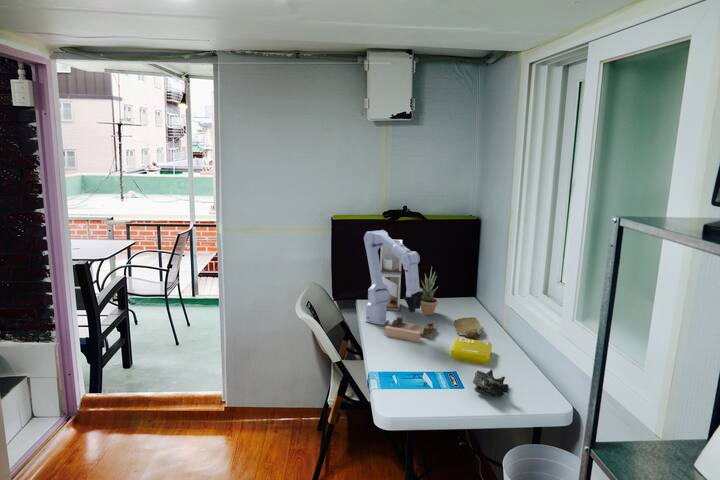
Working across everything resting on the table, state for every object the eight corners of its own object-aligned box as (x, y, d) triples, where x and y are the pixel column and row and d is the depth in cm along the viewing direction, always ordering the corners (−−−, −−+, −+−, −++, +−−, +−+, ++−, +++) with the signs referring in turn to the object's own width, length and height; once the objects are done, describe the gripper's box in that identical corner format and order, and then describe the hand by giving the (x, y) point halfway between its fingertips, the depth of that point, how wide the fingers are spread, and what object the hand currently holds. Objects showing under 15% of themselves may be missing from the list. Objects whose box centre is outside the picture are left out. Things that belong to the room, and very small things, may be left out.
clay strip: (384, 336, 223) (384, 327, 222) (386, 334, 225) (386, 325, 224) (418, 342, 216) (419, 333, 216) (420, 340, 219) (421, 332, 218)
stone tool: (486, 341, 218) (476, 321, 242) (485, 332, 217) (475, 313, 242) (459, 343, 219) (452, 323, 243) (459, 334, 218) (452, 315, 243)
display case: (379, 302, 268) (382, 238, 261) (399, 303, 267) (402, 239, 260) (378, 309, 257) (380, 243, 250) (399, 310, 256) (402, 244, 249)
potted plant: (438, 316, 249) (441, 268, 244) (419, 316, 249) (422, 268, 244) (435, 309, 258) (438, 263, 254) (417, 309, 258) (419, 263, 254)
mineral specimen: (520, 388, 167) (504, 362, 168) (488, 408, 165) (472, 381, 167) (506, 382, 181) (492, 358, 183) (477, 400, 180) (462, 376, 181)
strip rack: (388, 330, 228) (388, 321, 228) (395, 323, 237) (396, 315, 237) (430, 338, 221) (431, 329, 220) (436, 330, 230) (437, 322, 229)
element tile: (450, 360, 200) (451, 349, 199) (455, 346, 214) (456, 335, 213) (488, 366, 195) (489, 355, 194) (491, 351, 209) (492, 340, 208)
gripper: (416, 281, 209) (419, 313, 209) (425, 277, 222) (428, 307, 223) (400, 282, 212) (403, 313, 212) (410, 277, 225) (413, 307, 225)
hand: (415, 310), depth 218 cm, fingers open, 7 cm apart
